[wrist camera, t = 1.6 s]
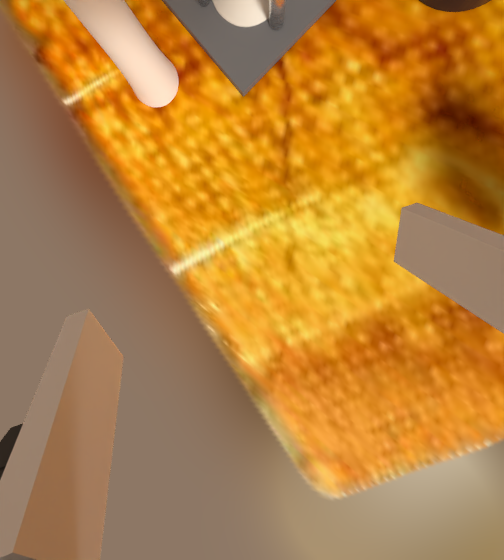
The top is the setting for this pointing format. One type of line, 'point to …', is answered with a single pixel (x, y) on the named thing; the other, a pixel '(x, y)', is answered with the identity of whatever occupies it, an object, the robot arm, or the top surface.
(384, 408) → the top surface
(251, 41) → the board
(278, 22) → the steel pins
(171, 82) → the cosmetic bottle
